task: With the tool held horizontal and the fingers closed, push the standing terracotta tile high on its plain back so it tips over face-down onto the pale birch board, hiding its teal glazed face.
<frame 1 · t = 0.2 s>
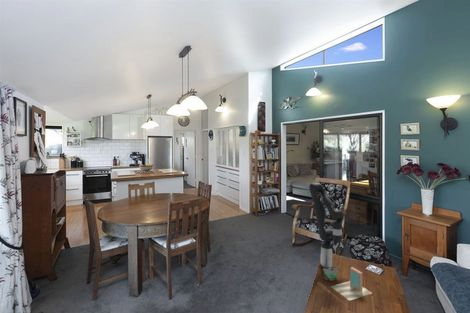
hand: (337, 252, 204), 18 cm above the table, tool pointing down, fingers open, 8 cm apart
tile: (356, 288, 182), point 1 cm above the table, touching board
food container: (332, 281, 194), on the table
board: (350, 291, 180), on the table
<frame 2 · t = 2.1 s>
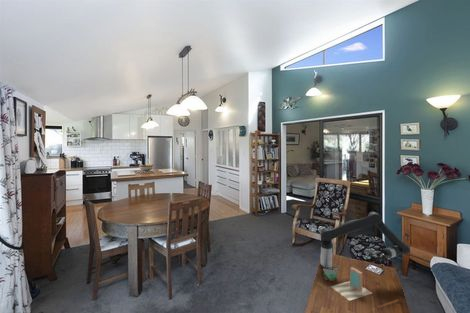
hand: (372, 257, 186), 22 cm above the table, tool horizontal, fingers open, 5 cm apart
nothing on the table moved.
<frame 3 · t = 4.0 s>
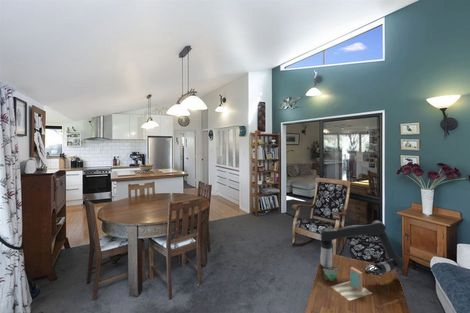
hand: (365, 272, 184), 11 cm above the table, tool horizontal, fingers closed
nothing on the table moved.
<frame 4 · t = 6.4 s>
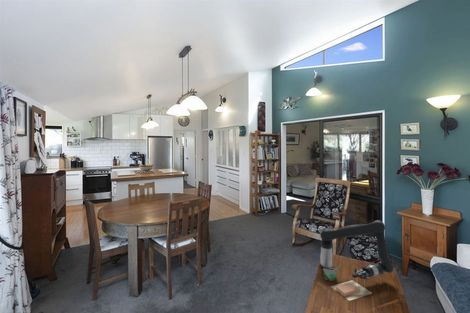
hand: (353, 276, 180), 11 cm above the table, tool horizontal, fingers closed
tile: (354, 286, 181), point 3 cm above the table, tilted 90°, touching board
everything else where it was.
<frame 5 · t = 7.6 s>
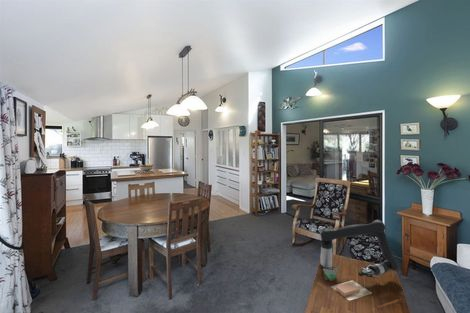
hand: (359, 274, 182), 11 cm above the table, tool horizontal, fingers closed
nothing on the table moved.
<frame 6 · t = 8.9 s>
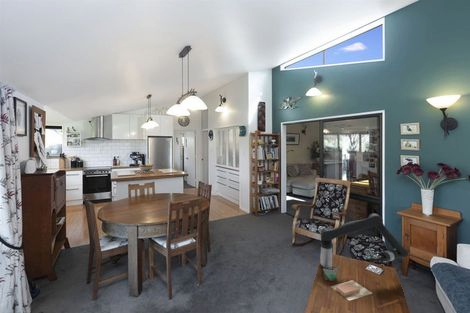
hand: (370, 260, 186), 20 cm above the table, tool horizontal, fingers closed
nothing on the table moved.
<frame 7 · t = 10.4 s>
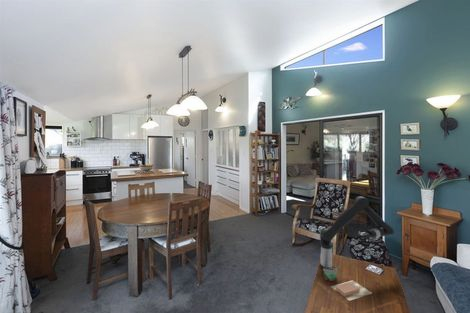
hand: (357, 237, 196), 34 cm above the table, tool horizontal, fingers closed
nothing on the table moved.
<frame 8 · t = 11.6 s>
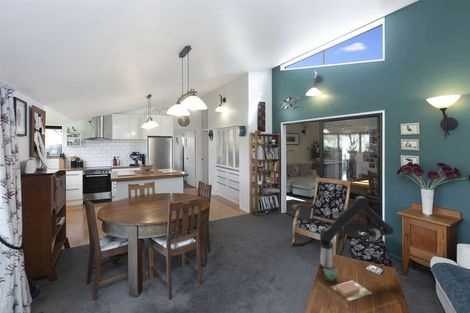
hand: (357, 236, 196), 34 cm above the table, tool horizontal, fingers closed
nothing on the table moved.
at the end: tile tilted 90°; tile inside the target area (0.1 cm from its centre), point 2.6 cm above the table; food container moved 0.2 cm from its start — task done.
